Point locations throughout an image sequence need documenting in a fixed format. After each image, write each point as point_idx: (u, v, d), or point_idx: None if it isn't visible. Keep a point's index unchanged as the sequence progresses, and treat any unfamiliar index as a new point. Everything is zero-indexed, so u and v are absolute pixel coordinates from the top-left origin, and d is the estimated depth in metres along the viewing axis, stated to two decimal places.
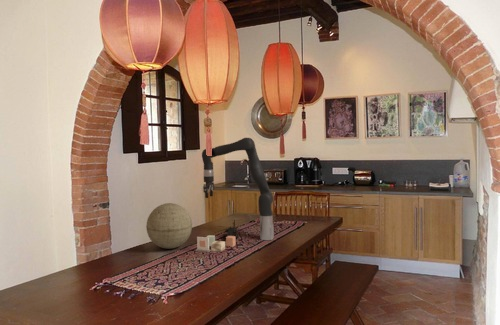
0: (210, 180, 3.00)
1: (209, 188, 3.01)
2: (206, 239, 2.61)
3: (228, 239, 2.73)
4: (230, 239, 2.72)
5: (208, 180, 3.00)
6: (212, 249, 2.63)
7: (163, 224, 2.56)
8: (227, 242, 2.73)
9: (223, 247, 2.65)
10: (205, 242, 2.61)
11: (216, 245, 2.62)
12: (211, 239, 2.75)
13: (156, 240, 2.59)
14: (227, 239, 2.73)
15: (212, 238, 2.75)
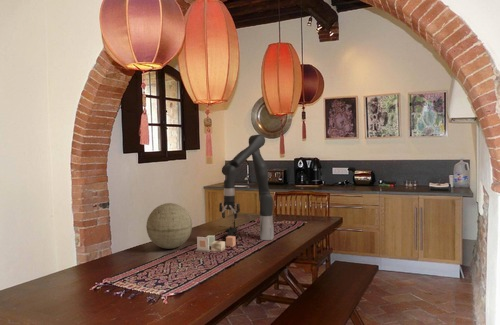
0: None
1: None
2: (206, 239, 2.61)
3: (228, 239, 2.73)
4: (230, 239, 2.72)
5: (234, 199, 2.74)
6: (212, 249, 2.63)
7: (163, 224, 2.56)
8: (227, 242, 2.73)
9: (223, 247, 2.65)
10: (205, 242, 2.61)
11: (216, 245, 2.62)
12: (211, 239, 2.75)
13: (156, 240, 2.59)
14: (227, 239, 2.73)
15: (212, 238, 2.75)
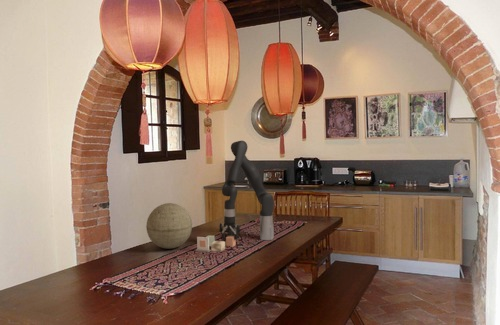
0: None
1: (234, 228, 2.76)
2: (206, 239, 2.61)
3: (228, 239, 2.73)
4: (230, 239, 2.72)
5: None
6: (212, 249, 2.63)
7: (163, 224, 2.56)
8: (227, 242, 2.73)
9: (223, 247, 2.65)
10: (205, 242, 2.61)
11: (216, 245, 2.62)
12: (211, 239, 2.75)
13: (156, 240, 2.59)
14: (227, 239, 2.73)
15: (212, 238, 2.75)
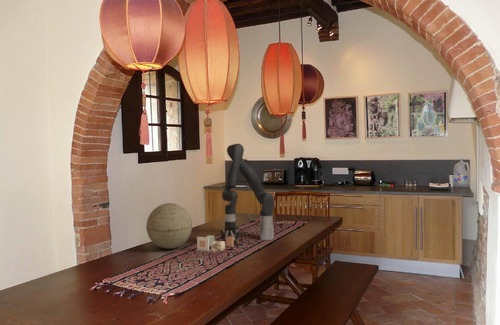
0: None
1: None
2: (206, 239, 2.61)
3: (228, 239, 2.73)
4: (230, 239, 2.72)
5: (235, 224, 2.75)
6: (212, 249, 2.63)
7: (163, 224, 2.56)
8: (227, 242, 2.73)
9: (223, 247, 2.65)
10: (205, 242, 2.61)
11: (216, 245, 2.62)
12: (211, 239, 2.75)
13: (156, 240, 2.59)
14: (227, 239, 2.73)
15: (212, 238, 2.75)
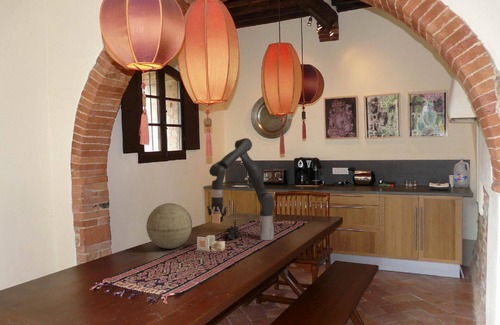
0: None
1: None
2: (206, 239, 2.61)
3: (214, 215, 2.63)
4: (216, 215, 2.62)
5: (222, 201, 2.64)
6: (212, 249, 2.63)
7: (163, 224, 2.56)
8: (213, 219, 2.63)
9: (223, 247, 2.65)
10: (205, 242, 2.61)
11: (216, 245, 2.62)
12: (211, 239, 2.75)
13: (156, 240, 2.59)
14: (213, 215, 2.63)
15: (212, 238, 2.75)
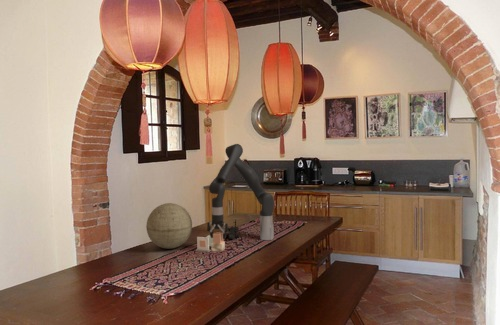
0: None
1: None
2: (206, 239, 2.61)
3: (215, 236, 2.63)
4: (217, 236, 2.62)
5: None
6: (212, 249, 2.62)
7: (163, 224, 2.56)
8: (214, 239, 2.63)
9: (223, 247, 2.65)
10: (205, 242, 2.61)
11: (217, 245, 2.62)
12: (211, 239, 2.75)
13: (156, 240, 2.59)
14: (214, 236, 2.63)
15: (212, 238, 2.75)
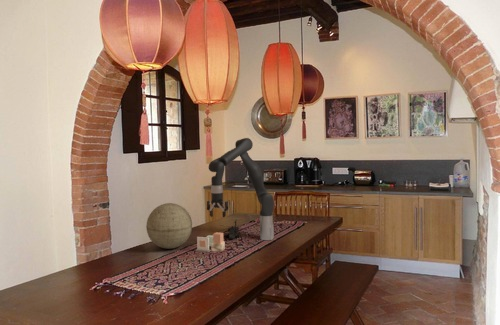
0: None
1: (222, 206, 2.64)
2: (206, 239, 2.61)
3: (215, 236, 2.63)
4: (217, 236, 2.62)
5: (222, 197, 2.63)
6: (212, 249, 2.62)
7: (163, 224, 2.56)
8: (214, 239, 2.63)
9: (223, 247, 2.65)
10: (205, 242, 2.61)
11: (217, 245, 2.62)
12: (211, 239, 2.75)
13: (156, 240, 2.59)
14: (214, 236, 2.63)
15: (212, 238, 2.75)
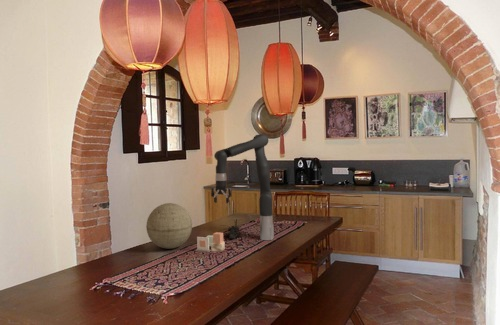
0: None
1: None
2: (206, 239, 2.61)
3: (215, 235, 2.63)
4: (217, 236, 2.62)
5: (226, 184, 2.79)
6: (212, 249, 2.62)
7: (163, 224, 2.56)
8: (214, 239, 2.63)
9: (223, 247, 2.65)
10: (205, 242, 2.61)
11: (216, 245, 2.62)
12: (211, 239, 2.75)
13: (156, 240, 2.59)
14: (214, 235, 2.63)
15: (212, 238, 2.75)
